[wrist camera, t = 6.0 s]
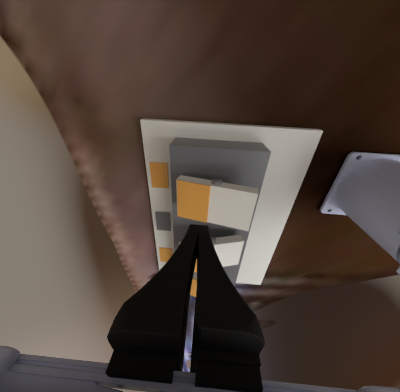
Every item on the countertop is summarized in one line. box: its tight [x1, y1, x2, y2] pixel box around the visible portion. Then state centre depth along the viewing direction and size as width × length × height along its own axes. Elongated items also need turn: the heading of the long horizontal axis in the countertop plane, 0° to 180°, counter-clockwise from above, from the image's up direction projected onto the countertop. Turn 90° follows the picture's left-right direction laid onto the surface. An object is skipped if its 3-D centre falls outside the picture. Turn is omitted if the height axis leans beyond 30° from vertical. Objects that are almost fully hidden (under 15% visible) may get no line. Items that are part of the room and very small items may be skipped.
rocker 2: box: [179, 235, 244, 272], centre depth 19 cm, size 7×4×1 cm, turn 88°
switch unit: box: [140, 118, 323, 286], centre depth 23 cm, size 18×26×4 cm
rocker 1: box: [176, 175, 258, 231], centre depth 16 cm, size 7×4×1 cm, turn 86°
